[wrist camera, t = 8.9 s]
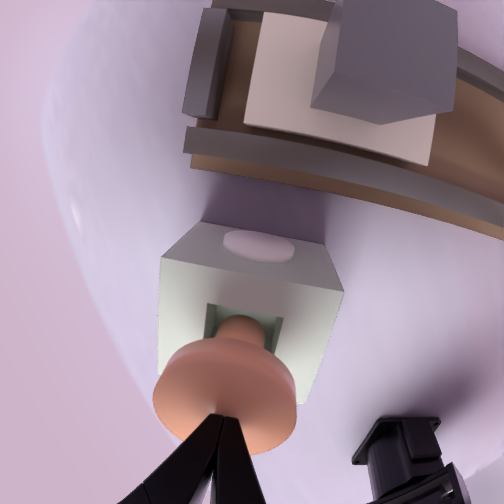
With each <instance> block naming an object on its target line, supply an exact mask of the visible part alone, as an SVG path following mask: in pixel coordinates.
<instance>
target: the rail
mask: <svg viewBox="0 0 504 504" xmlns="http://www.w3.org/2000/svg"><path fill="white" fill-rule="evenodd" d="M334 4H335V3H333V2H328V1H324V0H213V2H212V6H211V8H204V9H203V13H202V17H201V21H200V26H199V30H198V34H197V38H196V43H195V47H194V52H193V57H192V61H191V66H190V71H189V76H188V82H187V87H186V92H185V98H184V104H183V109H182V113H183V114H186V115H189V116H192V117H195V118H198V119H197V125H196V127H189V126H187V130H186V136H185V143H184V150H183V153H190V154H192V158H191V165H190V168H193V169H200V170H207V171H214V172H220V173H227V174H233V175H239V176H245V177H251V178H257V179H262V180H268V181H273V182H279V183H284V184H289V185H294V186H300V187H305V188H309V189H314V190H319V191H324V192H328V193H333V194H338V195H342V196H347V197H351V198H355V199H360V200H364V201H368V202H372V203H376V204H380V205H384V206H388V207H392V208H396V209H400V210H404V211H408V212H411V213H415V214H419V215H422V216H426V217H429V218H433V219H437V220H440V221H443V222H447V223H450V224H454V225H457V226H460V227H463V228H467V229H470V230H473V231H476V232H479V233H483V234H486V235H489V236H492V237H495V238H498V239H501V240H504V72H503V71H501V70H500V69H498V68H496V67H495V66H493V65H491V64H490V63H488V62H486V61H484V60H483V59H481V58H479V57H477V56H475V55H473V54H472V53H470V52H468V51H466V50H464V49H462V48H460V47H458V46H457V73H456V87H455V98H454V108H453V111H450V112H444V113H439V114H436V118H435V125H434V132H433V139H432V145H431V150H430V156H429V161H428V166H424V165H417V164H410V163H407V162H404V161H401V160H397V159H394V158H390V157H387V156H383V155H380V154H376V153H373V152H369V151H365V150H361V149H357V148H353V147H349V146H345V145H341V144H337V143H333V142H328V141H324V140H319V139H315V138H310V137H305V136H300V135H295V134H290V133H284V132H279V131H273V130H267V129H261V128H255V127H248V126H247V125H246V124H244V123H243V122H244V117H245V111H246V105H247V100H248V94H249V88H250V83H251V77H252V72H253V67H254V61H255V56H256V51H257V46H258V40H259V35H260V30H261V25H262V20H263V15H264V12H271V13H278V14H285V15H292V16H298V17H304V18H309V19H314V20H319V21H324V22H328V20H329V18H330V15H331V12H332V9H333V7H334Z"/></svg>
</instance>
